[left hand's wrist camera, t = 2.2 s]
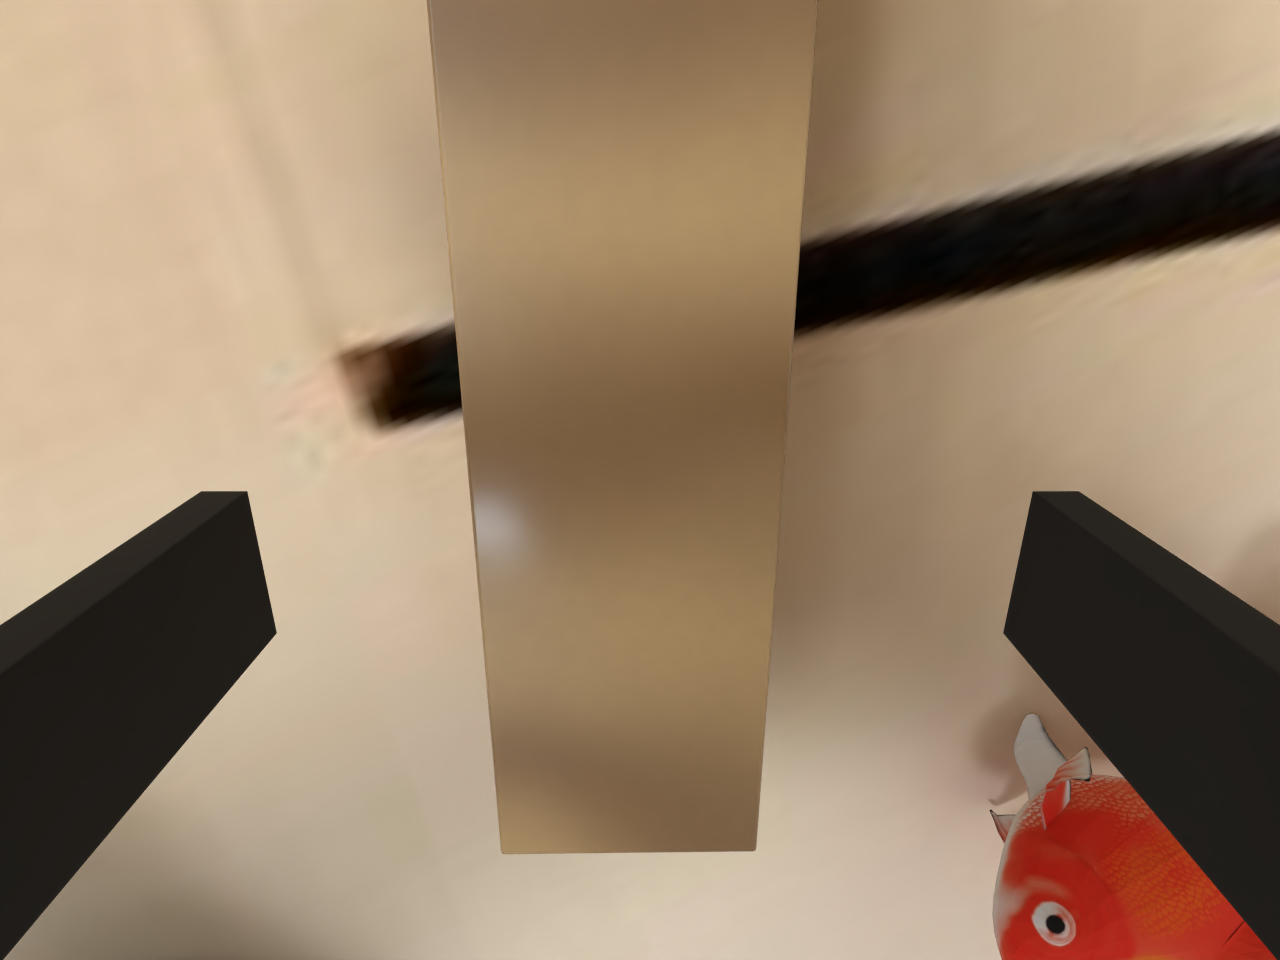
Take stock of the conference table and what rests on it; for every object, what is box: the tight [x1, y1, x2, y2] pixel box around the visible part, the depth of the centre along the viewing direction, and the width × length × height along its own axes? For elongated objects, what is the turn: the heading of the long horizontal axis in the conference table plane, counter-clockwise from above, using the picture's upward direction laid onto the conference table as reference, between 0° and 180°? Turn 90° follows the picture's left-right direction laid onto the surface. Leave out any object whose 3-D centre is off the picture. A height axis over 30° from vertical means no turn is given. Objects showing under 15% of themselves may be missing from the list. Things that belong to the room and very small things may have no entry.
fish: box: [990, 714, 1277, 960], centre depth 21 cm, size 11×16×10 cm
